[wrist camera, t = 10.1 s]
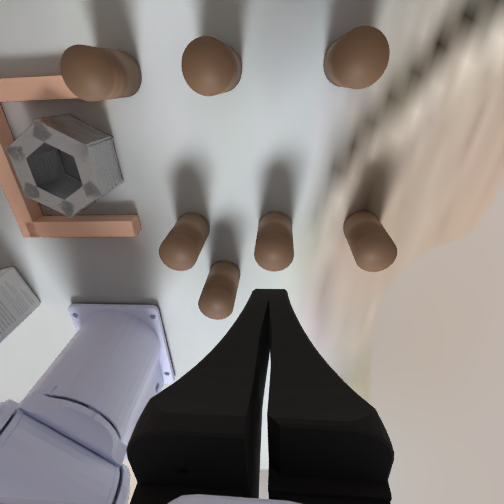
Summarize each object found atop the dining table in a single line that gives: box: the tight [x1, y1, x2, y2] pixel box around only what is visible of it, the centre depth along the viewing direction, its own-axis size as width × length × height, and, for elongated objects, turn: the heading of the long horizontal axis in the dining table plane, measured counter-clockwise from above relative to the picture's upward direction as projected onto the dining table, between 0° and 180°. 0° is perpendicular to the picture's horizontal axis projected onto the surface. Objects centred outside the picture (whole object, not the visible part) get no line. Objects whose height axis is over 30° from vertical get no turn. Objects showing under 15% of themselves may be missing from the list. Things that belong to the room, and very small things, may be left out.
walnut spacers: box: [60, 26, 397, 319], centre depth 19 cm, size 20×18×4 cm
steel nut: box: [5, 114, 123, 218], centre depth 20 cm, size 6×5×3 cm
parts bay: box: [0, 75, 141, 237], centre depth 21 cm, size 10×9×1 cm
